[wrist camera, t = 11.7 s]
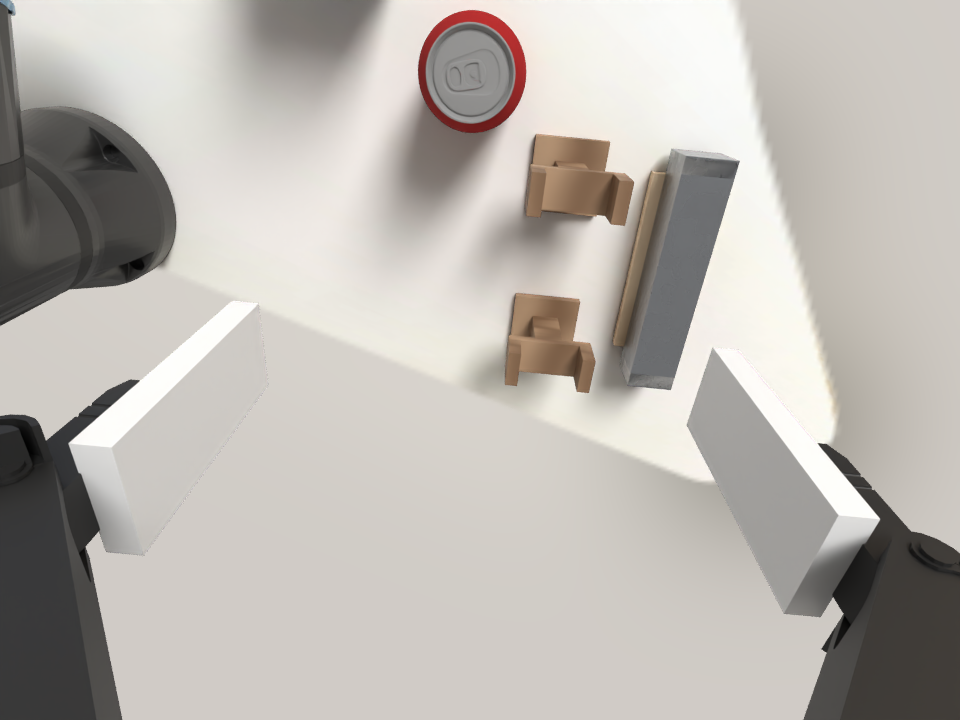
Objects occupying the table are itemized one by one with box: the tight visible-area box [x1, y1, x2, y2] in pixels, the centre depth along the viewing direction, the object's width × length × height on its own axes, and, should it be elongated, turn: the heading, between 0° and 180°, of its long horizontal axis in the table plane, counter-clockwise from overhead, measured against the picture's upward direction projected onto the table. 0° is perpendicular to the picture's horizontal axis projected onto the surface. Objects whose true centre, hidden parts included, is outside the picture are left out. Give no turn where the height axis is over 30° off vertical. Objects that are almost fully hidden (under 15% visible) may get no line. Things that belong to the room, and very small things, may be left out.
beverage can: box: [418, 10, 526, 133], centre depth 37 cm, size 7×7×12 cm
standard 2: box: [525, 134, 634, 226], centre depth 42 cm, size 7×6×10 cm
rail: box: [620, 149, 740, 390], centre depth 46 cm, size 4×20×4 cm, turn 175°
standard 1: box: [505, 293, 596, 393], centre depth 48 cm, size 7×6×10 cm
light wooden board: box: [613, 171, 666, 346], centre depth 49 cm, size 6×16×1 cm, turn 175°
